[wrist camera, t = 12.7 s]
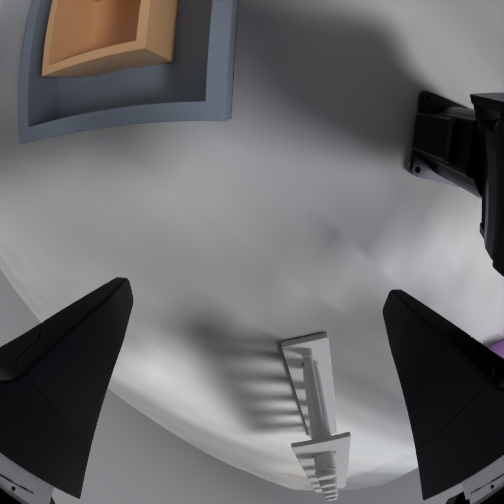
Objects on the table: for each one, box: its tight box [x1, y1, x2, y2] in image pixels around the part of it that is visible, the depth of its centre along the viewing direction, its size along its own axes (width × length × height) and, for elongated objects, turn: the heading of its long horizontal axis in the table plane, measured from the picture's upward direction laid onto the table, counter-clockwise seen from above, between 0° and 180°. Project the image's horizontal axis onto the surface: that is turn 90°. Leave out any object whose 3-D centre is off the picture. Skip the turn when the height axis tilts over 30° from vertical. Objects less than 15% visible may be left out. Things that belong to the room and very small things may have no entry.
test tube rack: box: [281, 332, 350, 501], centre depth 25 cm, size 25×4×13 cm, turn 15°
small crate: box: [42, 0, 180, 78], centre depth 10 cm, size 6×6×5 cm
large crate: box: [19, 0, 239, 144], centre depth 11 cm, size 14×14×4 cm
